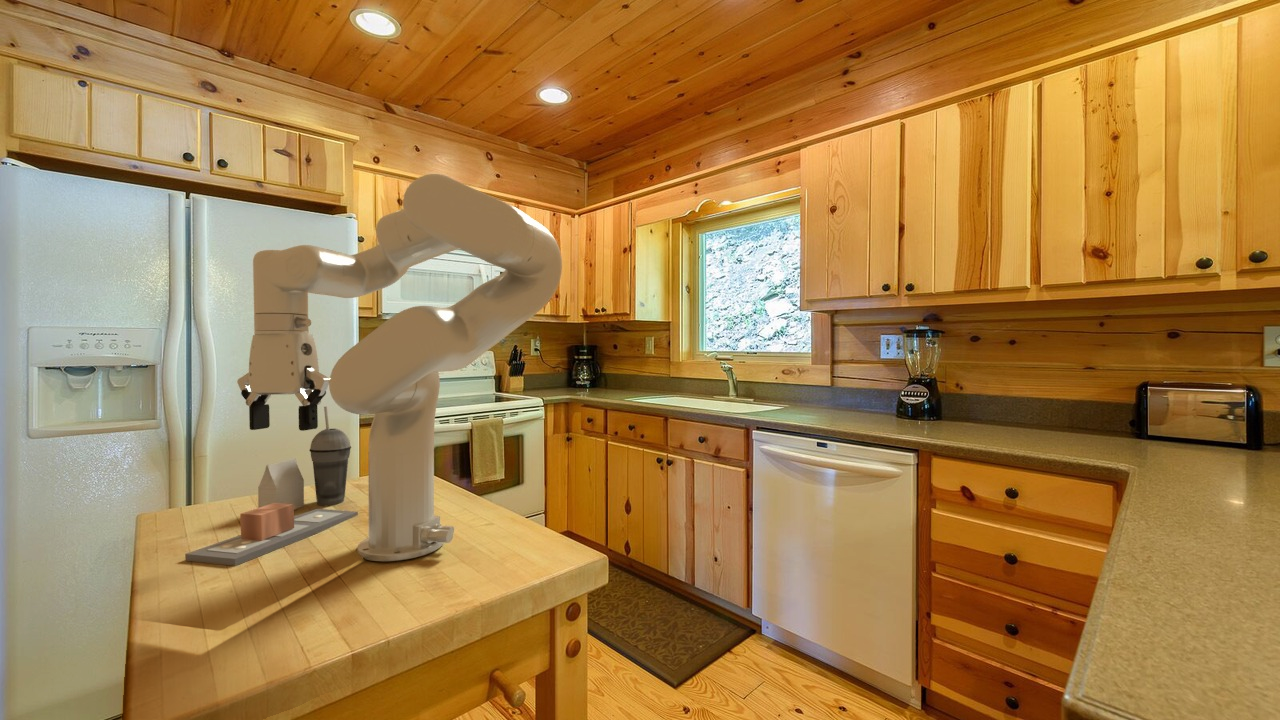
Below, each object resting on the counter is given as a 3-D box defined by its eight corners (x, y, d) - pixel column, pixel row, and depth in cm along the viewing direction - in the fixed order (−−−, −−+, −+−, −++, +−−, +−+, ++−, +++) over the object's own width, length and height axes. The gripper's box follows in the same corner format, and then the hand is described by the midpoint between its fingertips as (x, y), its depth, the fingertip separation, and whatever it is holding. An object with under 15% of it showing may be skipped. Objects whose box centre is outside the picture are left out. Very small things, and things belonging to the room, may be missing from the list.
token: (293, 504, 90) (261, 515, 84) (294, 527, 90) (261, 540, 84) (273, 502, 91) (240, 513, 85) (274, 526, 91) (241, 538, 85)
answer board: (357, 517, 100) (357, 510, 100) (235, 565, 77) (235, 557, 77) (316, 513, 102) (316, 507, 102) (185, 560, 79) (185, 552, 79)
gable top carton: (303, 509, 105) (303, 458, 105) (276, 520, 98) (276, 465, 98) (286, 509, 105) (286, 458, 105) (258, 519, 99) (258, 465, 99)
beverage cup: (332, 512, 103) (332, 408, 103) (300, 510, 104) (300, 407, 104) (359, 502, 110) (359, 405, 110) (329, 500, 112) (328, 404, 111)
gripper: (343, 326, 91) (345, 426, 91) (259, 329, 95) (261, 425, 95) (307, 323, 84) (309, 433, 84) (217, 326, 87) (219, 431, 87)
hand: (283, 429), depth 89 cm, fingers open, 9 cm apart
